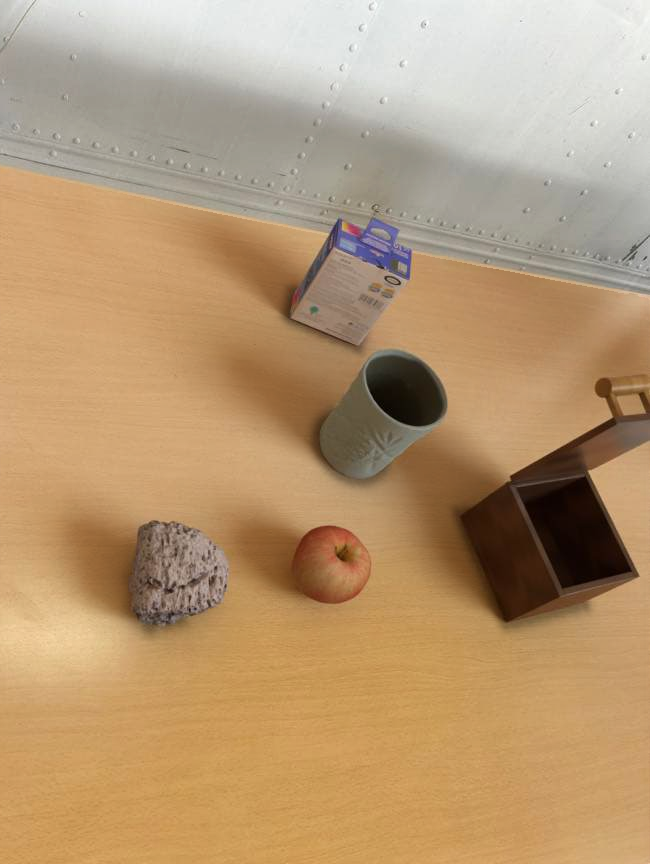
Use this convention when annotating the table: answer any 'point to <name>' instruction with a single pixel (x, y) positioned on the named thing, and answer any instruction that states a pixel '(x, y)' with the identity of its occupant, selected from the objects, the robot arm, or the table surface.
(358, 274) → the ink cartridge box
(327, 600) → the apple
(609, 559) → the chest
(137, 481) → the table surface
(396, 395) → the grey green ceramic cup
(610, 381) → the lid
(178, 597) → the pumice stone
